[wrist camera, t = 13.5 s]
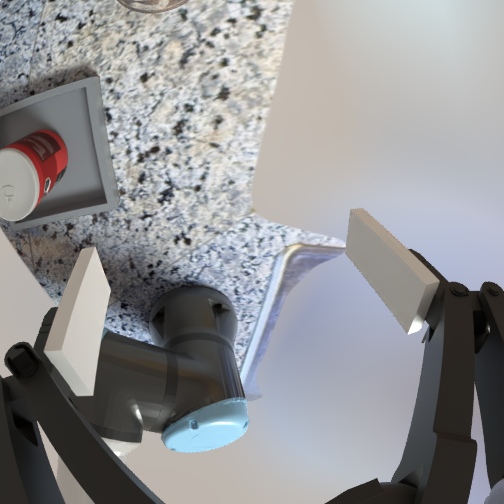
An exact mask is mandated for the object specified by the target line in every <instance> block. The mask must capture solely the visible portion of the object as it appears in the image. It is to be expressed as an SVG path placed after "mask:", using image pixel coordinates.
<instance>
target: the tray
mask: <svg viewBox="0 0 504 504" xmlns="http://www.w3.org/2000/svg"><path fill="white" fill-rule="evenodd" d="M38 130H49V131H52V132H54V133H56V134H58V135H59V136H60V137H61V138H62V140H63V141H64V143H65V145H66V148H67V152H68V163H67V168H66V171H65V173H64V176H63V177H62V178H61V180H60V181H59V182H58V183H57V184H56V185H55V186H54V187H53V188H52V189H51V191H50V192H49V193H48V194H47V195H46V196H45V197H44V198H43V199H42V201H41V202H40V203H39V204H38V205H37V206H36V207H35V208H34V209H33V211H32V212H31V213H30V214H29V215H27V216H26V217H25V218H23V219H21V220H18V221H9V224H10V227H11V229H12V232H14V231H18V230H22V229H26V228H30V227H34V226H38V225H43V224H47V223H52V222H56V221H61V220H65V219H70V218H74V217H79V216H84V215H89V214H94V213H99V212H104V211H109V210H115V209H117V207H118V205H119V202H120V196H119V192H118V187H117V182H116V178H115V173H114V168H113V163H112V158H111V152H110V147H109V141H108V135H107V129H106V123H105V116H104V109H103V102H102V94H101V86H100V77H99V76H97V77H90V78H86V79H83V80H79V81H76V82H72V83H69V84H66V85H62V86H59V87H56V88H53V89H50V90H47V91H45V92H42V93H39V94H36V95H33V96H31V97H28V98H26V99H23V100H20V101H18V102H16V103H13V104H11V105H8V106H6V107H4V108H1V109H0V150H1V149H2V148H4V147H6V146H8V145H10V144H11V143H13V142H15V141H17V140H19V139H21V138H23V137H25V136H27V135H29V134H31V133H33V132H35V131H38Z"/></svg>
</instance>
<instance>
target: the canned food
mask: <svg viewBox="0 0 504 504" xmlns="http://www.w3.org/2000/svg"><path fill="white" fill-rule="evenodd" d="M67 163H68V152H67V148H66V145H65V143H64V141H63V140H62V138H61V137H60V136H59V135H58V134H56V133H54V132H52V131H49V130H38V131H35V132H33V133H31V134H29V135H27V136H25V137H23V138H21V139H19V140H17V141H15V142H13V143H11V144H10V145H8V146H6V147H4V148H2V149H1V150H0V217H1V218H2V219H5V220H8V221H18V220H21V219H23V218H25V217H26V216H27V215H29V214H30V213H31V212H32V211H33V209H34V208H35V207H36V206H37V205H38V204H39V203H40V202H41V201H42V199H43V198H44V197H45V196H46V195H47V194H48V193H49V192H50V191H51V189H52V188H53V187H54V186H55V185H56V184H57V183H58V182H59V181H60V180H61V178H62V177H63V176H64V173H65V171H66V168H67Z"/></svg>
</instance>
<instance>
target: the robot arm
mask: <svg viewBox="0 0 504 504" xmlns="http://www.w3.org/2000/svg"><path fill="white" fill-rule="evenodd" d="M345 254H346V255H347V256H348V257H349V259H350V260H351V261H352V262H353V264H354V265H355V266H356V267H357V269H358V270H359V271H360V272H361V274H362V275H363V276H364V277H365V279H366V280H367V281H368V283H369V284H370V285H371V286H372V288H373V289H374V290H375V291H376V293H377V294H378V295H379V297H380V298H381V299H382V300H383V302H384V303H385V305H386V306H387V307H388V309H389V310H390V311H391V313H392V314H393V315H394V317H395V318H396V319H397V321H398V322H399V323H400V325H401V326H402V327H403V329H404V330H405V332H406V333H407V334H411V333H413V332H416V331H419V330H421V328H422V325H423V323H424V321H425V320H426V322H427V323H428V324H429V327H428V329H427V331H426V333H425V336H424V338H423V340H422V343H424V341H425V340H426V342H425V350H424V357H423V364H422V371H421V377H420V383H419V388H418V394H417V399H416V404H415V409H414V413H413V418H412V422H411V427H410V431H409V434H408V438H407V442H406V446H405V449H404V453H403V457H402V460H401V462H400V465H399V467H398V468H397V470H396V471H395V473H394V475H393V477H392V480H391V482H381V483H379V481H378V479H377V478H376V479H374V480H371V481H369V482H367V483H364V484H361V485H359V486H356V487H354V488H351V489H348V490H347V491H345V492H343V493H341V494H340V495H338V496H337V497H335V498H334V499H332V500H330V501H329V502H327V503H325V504H467V503H468V498H469V494H470V489H471V484H472V479H473V473H474V468H475V461H476V455H477V442H476V440H473V439H471V425H472V416H473V401H474V381H475V386H476V391H477V396H478V401H479V407H480V413H481V419H482V427H483V435H484V443H485V453H486V465H487V473H488V478H489V484H490V488H491V492H490V495H489V496H488V497H487V498H486V500H485V502H484V504H504V291H503V290H502V288H501V287H500V286H498V285H497V284H495V283H493V282H484V283H483V284H482V286H481V289H480V291H469V290H468V288H467V287H465V286H464V285H463V284H460V283H458V282H448V281H447V280H446V279H445V278H444V277H443V276H442V275H441V274H440V273H439V272H438V271H437V270H436V269H435V268H434V267H433V266H432V265H431V264H430V263H429V262H428V261H426V259H425V258H424V257H423V256H422V255H421V254H419V253H417V252H416V251H414V250H412V249H407V248H406V247H405V246H404V245H403V244H402V243H401V242H400V241H398V239H396V238H395V237H394V236H393V235H392V234H391V233H390V232H389V231H387V230H386V229H385V228H384V227H383V226H382V225H381V224H380V223H379V222H378V221H377V220H375V219H374V218H373V217H372V216H371V215H370V214H369V213H368V212H366V211H365V210H364V209H363V208H359V209H351V210H350V218H349V227H348V235H347V243H346V250H345ZM110 292H111V289H110V287H109V284H108V281H107V279H106V276H105V273H104V270H103V268H102V265H101V262H100V259H99V256H98V253H97V250H96V247H90V248H85V249H82V250H81V252H80V254H79V257H78V259H77V261H76V264H75V266H74V268H73V271H72V273H71V276H70V278H69V281H68V283H67V286H66V288H65V291H64V293H63V296H62V299H61V301H60V304H59V307H53V308H51V309H50V310H49V311H48V312H47V314H46V315H45V316H44V319H43V322H42V327H41V328H40V330H39V334H38V336H37V339H36V342H35V345H34V348H32V346H31V345H30V344H29V343H27V342H19V343H17V344H15V345H13V346H12V347H11V348H10V349H9V350H8V352H7V353H6V355H5V359H4V362H5V365H6V367H7V368H8V369H9V370H10V372H11V373H12V374H13V375H12V376H9V377H6V378H2V377H1V376H0V504H165V503H164V502H163V501H162V500H160V498H158V497H157V496H156V495H155V494H154V493H153V492H152V491H151V490H150V489H149V488H148V487H147V486H146V485H145V484H144V483H143V482H141V480H139V479H138V477H137V476H136V475H135V474H134V473H133V472H132V471H131V470H130V469H129V468H127V466H126V462H127V454H128V453H129V452H130V451H132V450H133V449H135V448H136V447H138V446H139V445H140V444H141V440H142V433H143V430H146V431H151V432H156V433H161V434H162V436H161V439H162V441H163V443H164V445H165V446H166V447H167V448H169V449H172V450H173V451H177V452H188V453H190V452H202V451H207V450H212V449H216V448H219V447H222V446H225V445H227V444H229V443H231V442H233V441H235V440H237V439H238V438H239V437H241V436H242V435H243V434H244V433H245V431H246V430H247V428H248V425H249V417H248V410H247V400H246V398H245V394H244V391H243V387H242V383H241V379H240V375H239V371H238V367H237V363H236V359H235V356H234V351H233V348H234V342H235V337H236V332H237V317H236V313H235V309H234V307H233V305H232V303H231V302H230V300H229V299H228V298H227V297H226V296H224V295H223V294H221V293H220V292H218V291H216V290H213V289H210V288H206V287H199V286H189V287H182V288H178V289H175V290H172V291H170V292H168V293H166V294H164V295H163V296H161V297H160V298H159V299H158V300H157V301H156V302H155V303H154V305H153V307H152V309H151V311H150V316H149V331H150V335H151V337H152V340H153V342H154V345H151V344H148V343H145V342H142V341H138V340H135V339H132V338H129V337H126V336H123V335H120V334H117V333H114V332H112V331H109V329H108V328H104V329H103V327H104V321H105V316H106V311H107V306H108V302H109V297H110ZM489 327H490V333H489V330H488V328H489ZM37 421H38V422H39V424H40V426H41V427H42V429H43V431H44V432H45V434H46V436H47V437H48V439H49V441H50V442H51V444H52V445H53V447H54V449H55V450H56V452H57V453H58V455H59V457H58V469H57V482H56V479H55V477H54V474H53V471H52V468H51V466H50V463H49V460H48V457H47V454H46V451H45V448H44V445H43V442H42V438H41V435H40V431H39V428H38V424H37Z"/></svg>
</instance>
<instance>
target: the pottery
mask: <svg viewBox="0 0 504 504" xmlns="http://www.w3.org/2000/svg"><path fill="white" fill-rule="evenodd" d="M117 1H118V2H119V3H120V4H121V5H123V6H124V7H126V8H128V9H130V10H133V11H136V12H141V13H149V14H150V13H160V12H165V11H168V10H171V9H174V8H177V7H179V6H181V5H183V4H184V3H186V2H187V1H188V0H117Z"/></svg>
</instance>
